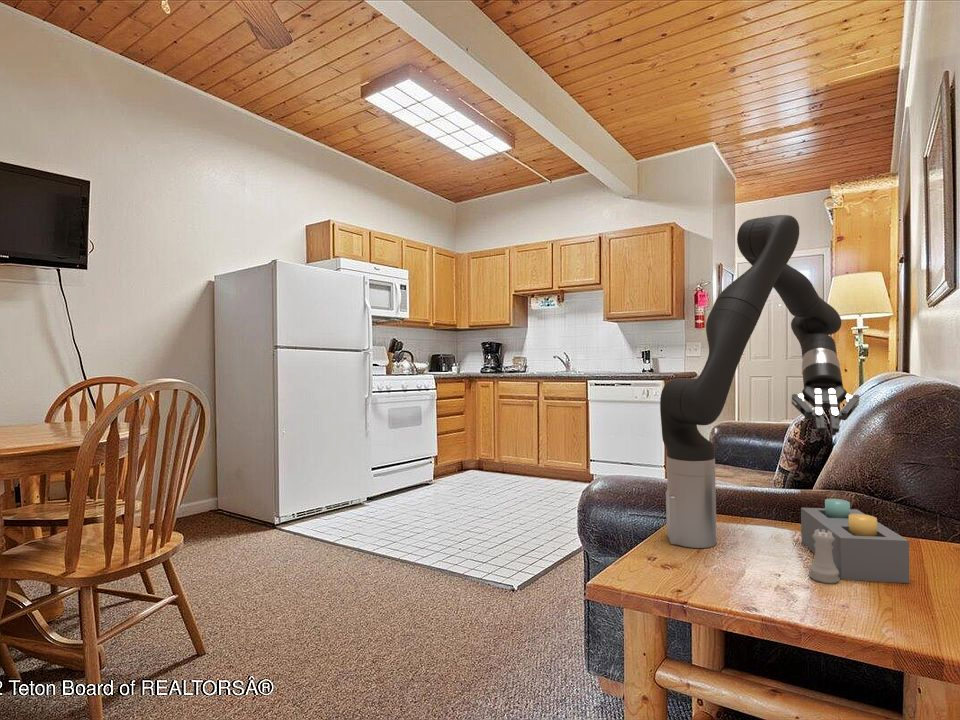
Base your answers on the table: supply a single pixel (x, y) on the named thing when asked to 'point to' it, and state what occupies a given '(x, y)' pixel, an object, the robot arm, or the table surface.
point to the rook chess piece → (823, 559)
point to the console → (859, 548)
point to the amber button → (862, 525)
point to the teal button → (837, 508)
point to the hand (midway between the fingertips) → (828, 432)
